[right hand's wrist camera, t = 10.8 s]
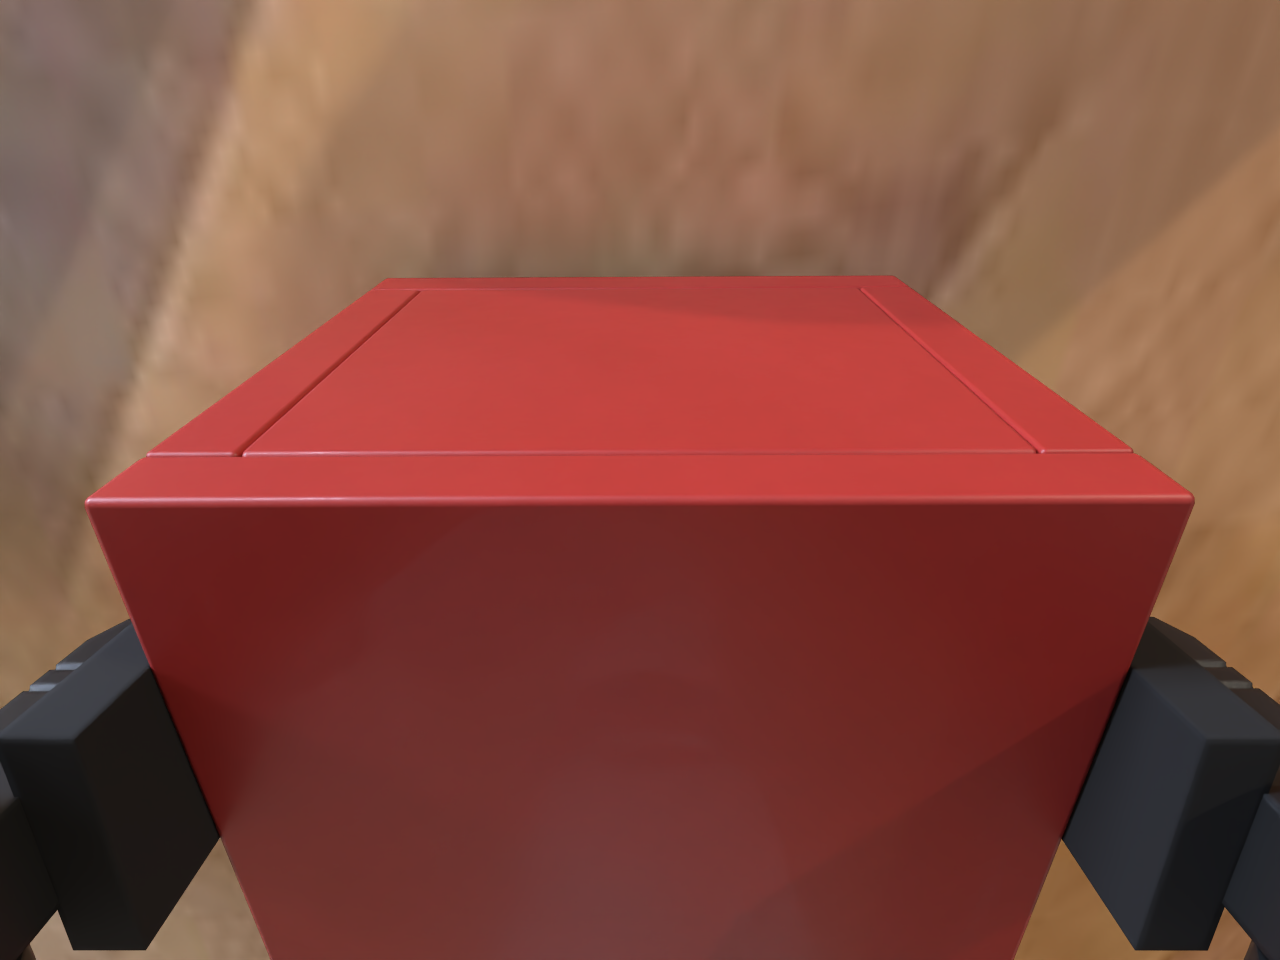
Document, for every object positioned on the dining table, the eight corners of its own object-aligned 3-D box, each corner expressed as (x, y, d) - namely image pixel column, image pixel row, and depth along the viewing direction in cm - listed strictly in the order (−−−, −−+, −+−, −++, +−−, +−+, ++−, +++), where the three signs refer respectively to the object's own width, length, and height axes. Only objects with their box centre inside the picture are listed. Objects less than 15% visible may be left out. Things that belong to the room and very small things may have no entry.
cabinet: (822, 749, 21) (935, 1162, 13) (463, 750, 21) (351, 1163, 13) (895, 274, 15) (1202, 495, 7) (385, 277, 15) (76, 500, 7)
